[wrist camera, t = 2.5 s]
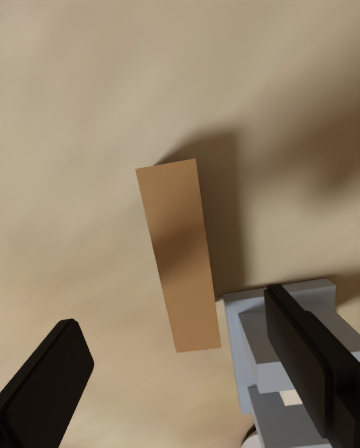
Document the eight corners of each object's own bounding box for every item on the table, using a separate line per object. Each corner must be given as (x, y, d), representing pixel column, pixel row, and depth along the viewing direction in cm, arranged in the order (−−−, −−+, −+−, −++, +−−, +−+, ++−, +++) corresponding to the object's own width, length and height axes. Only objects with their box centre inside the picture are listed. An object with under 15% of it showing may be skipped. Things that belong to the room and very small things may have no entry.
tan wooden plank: (147, 169, 16) (131, 169, 11) (191, 161, 15) (195, 158, 11) (176, 307, 19) (174, 353, 15) (211, 302, 19) (221, 347, 14)
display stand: (222, 294, 19) (240, 350, 13) (326, 278, 18) (394, 329, 12) (239, 402, 23) (257, 480, 17) (322, 392, 22) (371, 470, 17)
